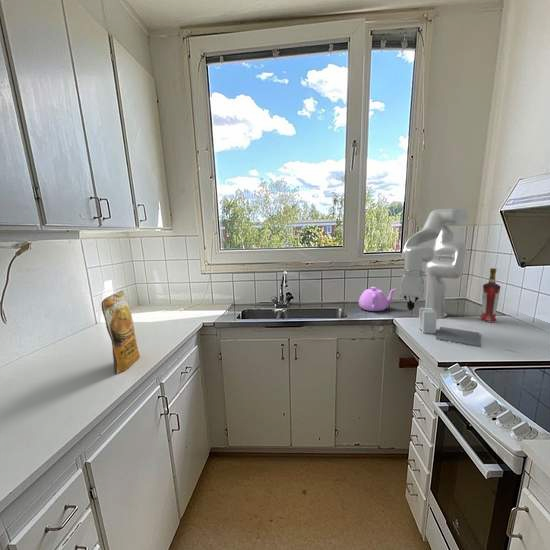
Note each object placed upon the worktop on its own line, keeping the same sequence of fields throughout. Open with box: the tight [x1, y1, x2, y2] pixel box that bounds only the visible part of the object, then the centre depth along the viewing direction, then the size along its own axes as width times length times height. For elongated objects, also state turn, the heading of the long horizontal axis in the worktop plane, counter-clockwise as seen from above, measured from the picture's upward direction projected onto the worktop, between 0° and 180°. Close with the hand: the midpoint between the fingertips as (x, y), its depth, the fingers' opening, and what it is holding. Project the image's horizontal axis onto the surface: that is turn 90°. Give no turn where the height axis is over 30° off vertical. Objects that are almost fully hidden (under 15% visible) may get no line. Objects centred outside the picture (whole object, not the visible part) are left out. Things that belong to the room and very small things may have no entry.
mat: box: [435, 326, 481, 348], centre depth 131 cm, size 18×16×1 cm
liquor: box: [480, 267, 501, 323], centre depth 150 cm, size 7×7×28 cm
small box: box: [418, 307, 438, 334], centre depth 138 cm, size 8×6×10 cm
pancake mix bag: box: [101, 290, 141, 374], centre depth 109 cm, size 7×19×28 cm, turn 0°
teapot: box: [358, 286, 397, 312], centre depth 177 cm, size 22×22×14 cm
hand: (410, 309), depth 142 cm, fingers closed
